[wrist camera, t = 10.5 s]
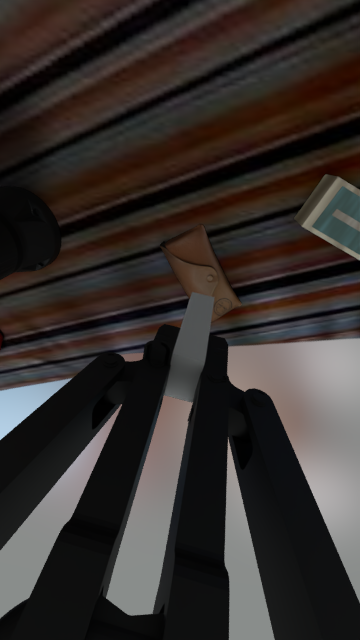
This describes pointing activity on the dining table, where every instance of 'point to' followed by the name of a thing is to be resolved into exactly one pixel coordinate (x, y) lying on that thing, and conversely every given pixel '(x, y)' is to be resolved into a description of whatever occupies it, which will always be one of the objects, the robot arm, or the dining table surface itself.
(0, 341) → the pomegranate
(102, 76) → the dining table surface
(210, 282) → the sunglasses case
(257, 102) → the dining table surface
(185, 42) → the dining table surface
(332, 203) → the cream and teal box
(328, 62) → the dining table surface
